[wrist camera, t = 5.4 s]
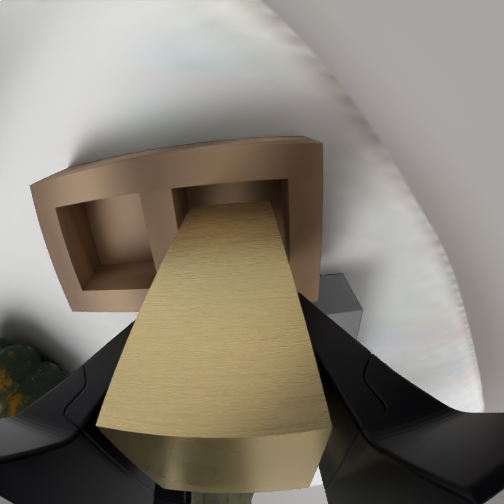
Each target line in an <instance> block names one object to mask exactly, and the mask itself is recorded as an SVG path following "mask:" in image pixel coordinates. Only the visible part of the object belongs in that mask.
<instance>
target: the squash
mask: <svg viewBox="0 0 504 504" xmlns="http://www.w3.org/2000/svg"><path fill="white" fill-rule="evenodd" d="M64 380H65V376H64V374H63V372H62V370H61V368H60V367H59V366H58V365H57V364H55V363H53V362H50V361H43V362H42V360H41V357H40V354H39V353H38V351H37V350H36V349H35V348H33V347H31V346H28V345H26V344H15V343H13V342H12V341H9V340H7V339H4V338H0V419H3V418H9V417H12V416H15V415H17V414H19V413H20V412H22V411H23V410H25V409H26V408H27V407H29V406H30V405H31V404H33V403H34V402H35V401H37V400H38V399H40V398H41V397H42V396H44V395H45V394H46V393H48V392H49V391H51V390H52V389H53V388H55V387H56V386H57V385H59V384H60V383H61V382H62V381H64Z"/></svg>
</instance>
